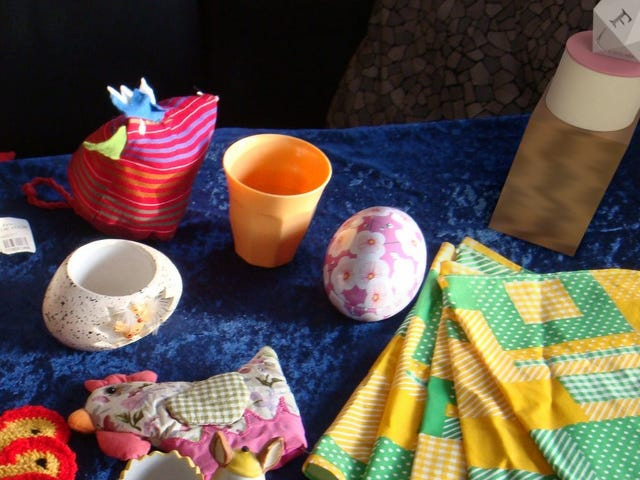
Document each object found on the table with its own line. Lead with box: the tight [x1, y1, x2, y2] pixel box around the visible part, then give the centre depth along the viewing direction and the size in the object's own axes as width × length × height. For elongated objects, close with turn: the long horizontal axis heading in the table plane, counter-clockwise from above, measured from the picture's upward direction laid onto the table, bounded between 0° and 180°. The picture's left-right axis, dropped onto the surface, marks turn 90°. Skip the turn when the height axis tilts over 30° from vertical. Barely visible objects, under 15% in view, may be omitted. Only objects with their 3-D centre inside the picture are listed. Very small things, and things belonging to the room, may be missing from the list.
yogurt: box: [546, 29, 640, 131], centre depth 97 cm, size 10×10×7 cm
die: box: [592, 0, 640, 64], centre depth 91 cm, size 8×9×10 cm
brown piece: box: [487, 75, 640, 257], centre depth 105 cm, size 11×11×17 cm
